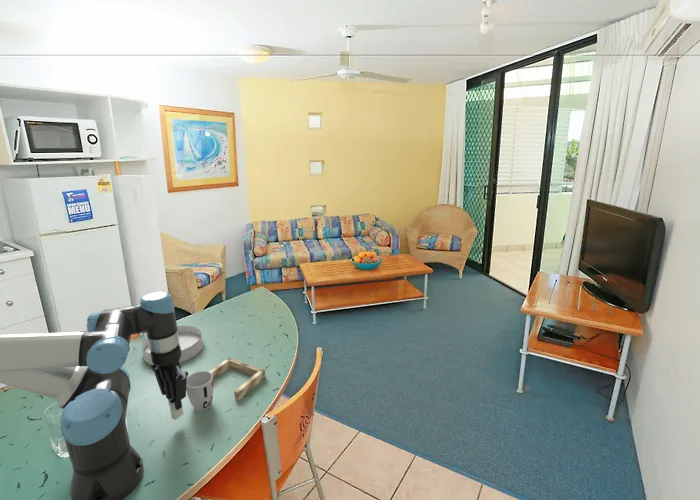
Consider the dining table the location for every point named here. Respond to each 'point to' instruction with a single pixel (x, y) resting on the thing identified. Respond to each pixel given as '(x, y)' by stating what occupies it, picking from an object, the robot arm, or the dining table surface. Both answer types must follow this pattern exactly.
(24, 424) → the dining table surface
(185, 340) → the dish
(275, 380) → the dining table surface
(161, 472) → the dining table surface
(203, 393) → the cup
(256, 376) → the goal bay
